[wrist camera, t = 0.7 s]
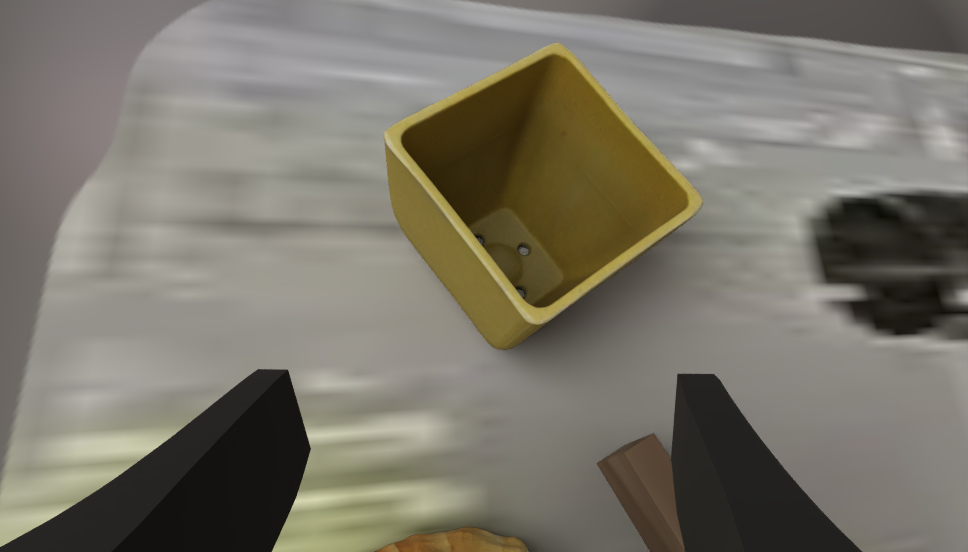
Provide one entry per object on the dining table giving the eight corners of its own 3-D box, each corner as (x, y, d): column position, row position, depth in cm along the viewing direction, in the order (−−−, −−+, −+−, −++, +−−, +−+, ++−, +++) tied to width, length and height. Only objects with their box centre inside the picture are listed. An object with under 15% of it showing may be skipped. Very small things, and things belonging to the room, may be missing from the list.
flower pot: (364, 241, 32) (377, 127, 23) (507, 158, 35) (561, 35, 27) (478, 394, 30) (536, 329, 22) (617, 292, 33) (711, 203, 25)
